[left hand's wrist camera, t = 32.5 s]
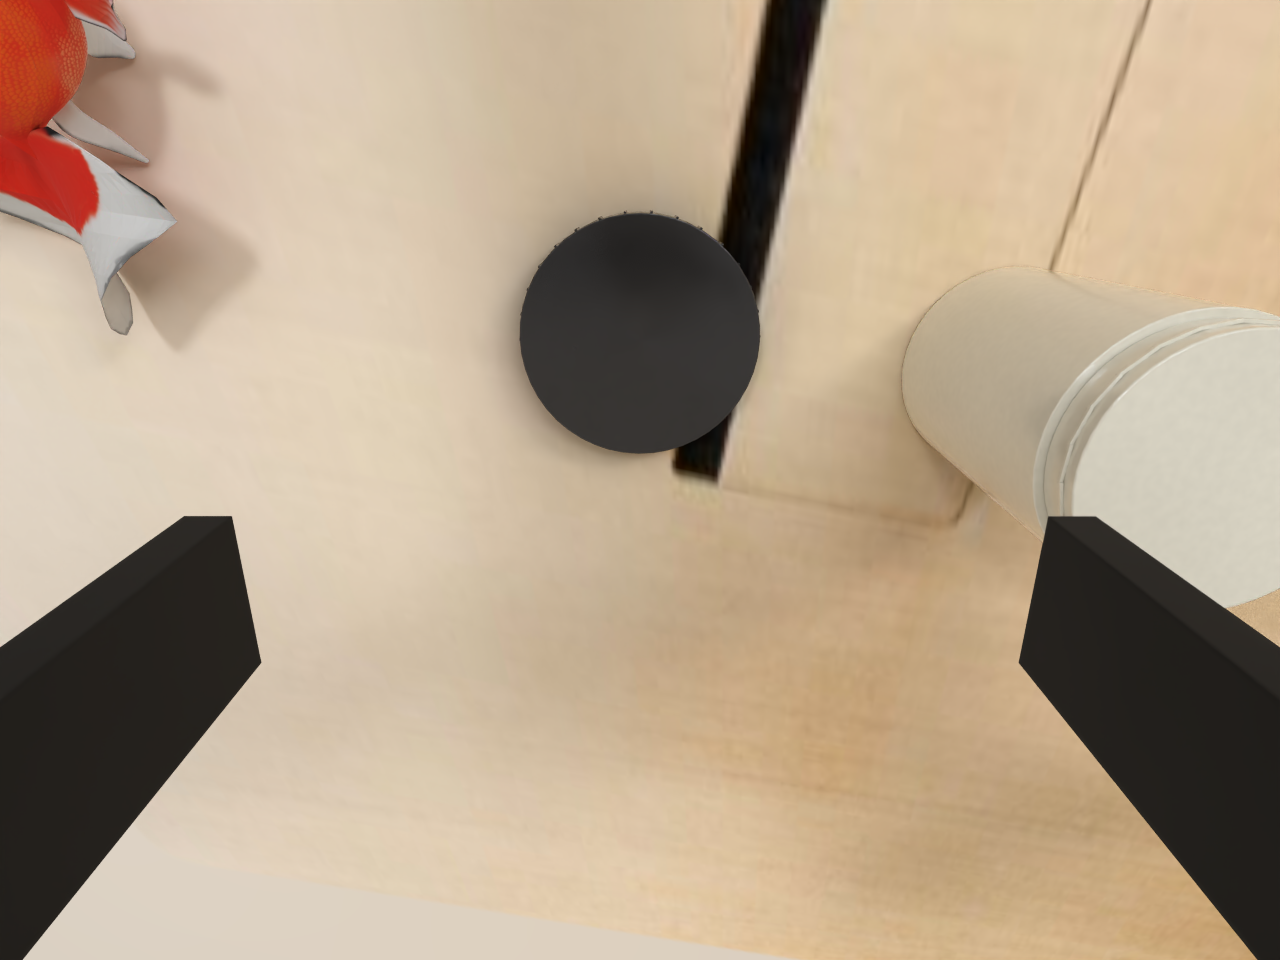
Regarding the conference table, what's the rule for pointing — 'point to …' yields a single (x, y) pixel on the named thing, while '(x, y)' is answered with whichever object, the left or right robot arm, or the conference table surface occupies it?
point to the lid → (639, 332)
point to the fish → (55, 166)
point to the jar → (1112, 415)
